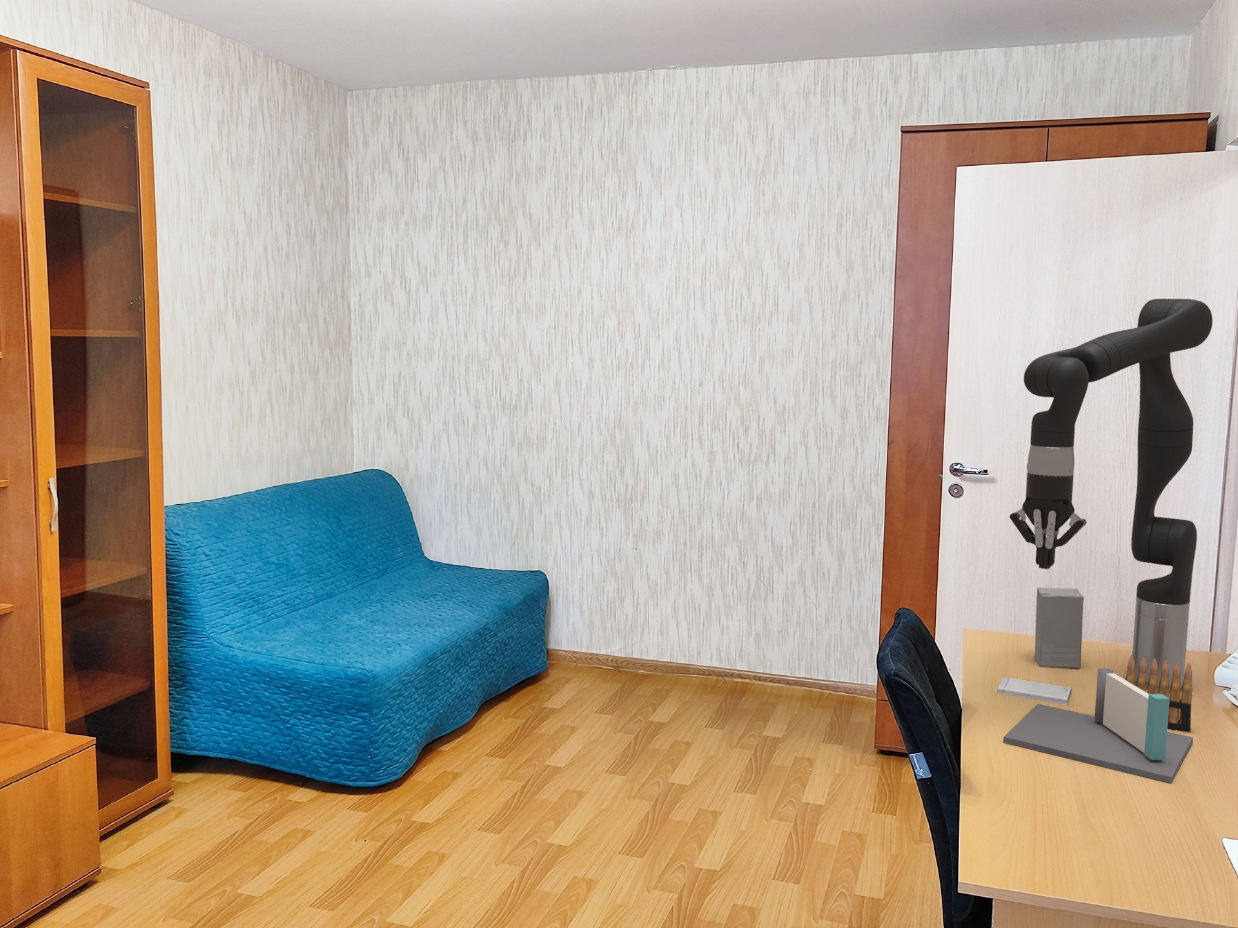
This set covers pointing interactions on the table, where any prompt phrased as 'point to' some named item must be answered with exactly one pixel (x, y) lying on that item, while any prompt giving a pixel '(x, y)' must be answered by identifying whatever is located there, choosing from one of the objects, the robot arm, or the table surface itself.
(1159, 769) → the mat
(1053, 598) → the skincare box
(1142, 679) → the ammunition clip
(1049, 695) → the hard drive
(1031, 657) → the table surface
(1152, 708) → the cream barrier panel
